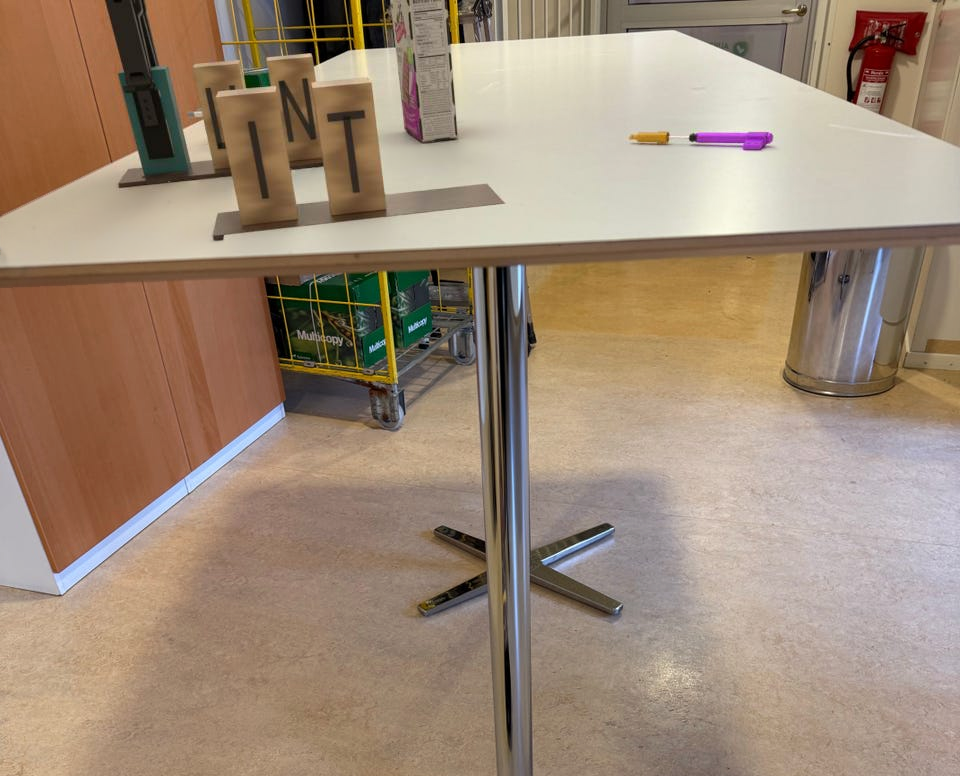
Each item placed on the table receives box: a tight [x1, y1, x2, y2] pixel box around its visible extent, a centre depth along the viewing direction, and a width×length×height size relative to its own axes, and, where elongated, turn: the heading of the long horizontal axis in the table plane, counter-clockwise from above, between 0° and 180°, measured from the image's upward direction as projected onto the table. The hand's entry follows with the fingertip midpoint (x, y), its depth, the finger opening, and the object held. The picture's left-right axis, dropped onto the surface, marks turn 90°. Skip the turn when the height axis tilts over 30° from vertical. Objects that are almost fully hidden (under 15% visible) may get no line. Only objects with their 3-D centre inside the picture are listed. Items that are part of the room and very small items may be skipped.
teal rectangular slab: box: [117, 65, 191, 175], centre depth 103 cm, size 5×4×10 cm
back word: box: [117, 53, 323, 188], centre depth 104 cm, size 26×9×10 cm, turn 100°
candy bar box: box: [389, 0, 459, 143], centre depth 112 cm, size 11×5×16 cm, turn 15°
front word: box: [212, 76, 506, 241], centre depth 82 cm, size 26×9×10 cm, turn 100°
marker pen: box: [628, 130, 774, 151], centre depth 99 cm, size 3×1×16 cm
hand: (163, 153), depth 105 cm, fingers closed on teal rectangular slab, 4 cm apart
